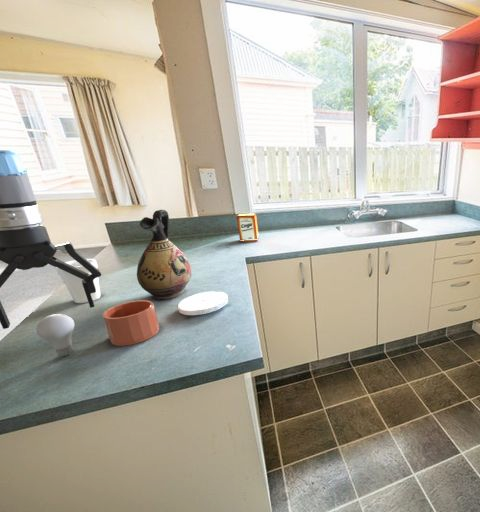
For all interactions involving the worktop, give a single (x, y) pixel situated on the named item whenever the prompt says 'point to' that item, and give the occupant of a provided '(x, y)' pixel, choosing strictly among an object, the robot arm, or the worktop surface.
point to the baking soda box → (247, 227)
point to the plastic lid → (202, 303)
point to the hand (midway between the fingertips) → (52, 315)
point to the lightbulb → (57, 332)
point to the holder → (131, 322)
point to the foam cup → (79, 282)
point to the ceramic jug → (162, 261)
